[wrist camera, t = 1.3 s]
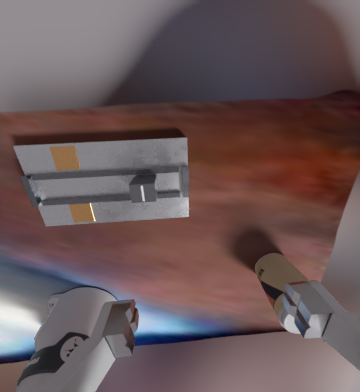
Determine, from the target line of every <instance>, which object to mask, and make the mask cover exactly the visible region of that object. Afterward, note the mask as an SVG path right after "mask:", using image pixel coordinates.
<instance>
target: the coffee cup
mask: <svg viewBox="0 0 360 392" xmlns="http://www.w3.org/2000/svg"><path fill="white" fill-rule="evenodd" d="M255 272H256V274H257V277H258V279H259V281H260V283H261V285H262V287H263V289H264V291H265V293H266V295H267V297H268V299H269V301H270V303H271V305H272V307H273V309H274V311H275V313H276V314H277V316H278V320H279V322H280V324H281V325H282V326H283V327H284V328H285V329H286V330H288V331H289V332H292V333H296V334H301V333H300V332H299V330H298V328H297V327H296V325H295V323H294V319H295V318H294V317H293V316H291V315H290V314H289V313H288V312H287V310H286V308H285V306H284V304H283V299H282V297H283V293H284V292H285V291H286V290H285V289H284V286H285V284H286V283H292V282H300V281H309V280H308V279H307V278H306V277H305V276H304V275H303V274H302V273H301V272H300V271H299V270H298V269H297V268H296V267H295V266H294V265H293V264H292V263H290V262H289V261H288V260H287V259H286V258H285V257H284V256H283V255H281V254H279V253H270V254H267V255H264V256H263V257H261V258H260V259H259V260H258V261H257V262H256V264H255Z"/></svg>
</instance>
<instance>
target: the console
mask: <svg viewBox="0 0 360 392" xmlns="http://www.w3.org/2000/svg"><path fill="white" fill-rule="evenodd" d="M13 147H14V150H15V152H16V155H17V157H18V159H19V162H20V164H21V167H22V169H23V172H24V174H25V175H22V176H20V179H21V181H22V183H23V186H24V188H25V190H26V193H27V195H28V197H29V200H30V202H31V204H32V207H38V208H39V210H40V213H41V215H42V218H43V220H44V223H45V225H46V226H57V225H72V224H87V223H102V222H117V221H132V220H147V219H162V218H177V217H189V198H188V197H189V173H188V157H187V137H173V138H152V139H132V140H111V141H90V142H69V143H48V144H27V145H17V146H13ZM150 175H157V184H158V195H157V201H156V202H142V203H132V202H131V196H130V190H129V184H130V182H131V181H132V179H133V178H134V177H135V176H150Z"/></svg>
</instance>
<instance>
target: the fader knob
mask: <svg viewBox="0 0 360 392" xmlns="http://www.w3.org/2000/svg"><path fill="white" fill-rule="evenodd" d="M129 190H130V196H131V202H132V203H142V202H156V201H157V195H158V184H157V175H150V176H135V177H134V178H133V179H132V181H131V182H130V184H129Z"/></svg>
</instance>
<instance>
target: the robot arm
mask: <svg viewBox="0 0 360 392" xmlns="http://www.w3.org/2000/svg"><path fill="white" fill-rule="evenodd" d="M284 289H285V290H286V291H285V292H284V293H283V297H282V299H283V304H284V306H285V308H286V310H287V312H288V313H289V314H290V315H291V316H293V317H294V318H295V319H294V323H295V325H296V327H297V328H298V330H299V332H300V333H301V335H302V336H303V338H318V337H322V339H323V340H324V341H326V342H327V343H328V344H329V345H330V346H332V347H333V348H334V349H335V350H336V351H337V352H339V353H340V354H341V355H342V356H343V357H344V358H346V359H347V360H348V361H349V362H350V363H352V364H353V365H354V366H355V367H356V368H357V369H359V370H360V317H358V316H356V315H355V314H353V313H351V312H346V311H345V310H344V309H343V307H341V305H340V304H339V303H338V302H337V301H336V300H335V299H334V298H333V297H332V296H331V295H330V293H329V292H328V291H327V290H326V289H325V288H324V287H323V286H322V285H321V284H320V283H319V282H318V281H316V280H311V281H300V282H292V283H286V284H285V286H284ZM138 319H139V315H138V310H137V308H135V301H134V299H133V300H122V301H117V300H116V299H115V298H114V297H113V296H112V295H111V294H109V293H107V292H105V291H103V290H100V289H96V288H90V287H82V288H76V289H72V290H70V291H68V292H66V293H63V294H56V295H52V296H50V298H49V300H48V316H47V317H46V319H45V321H44V322H43V324H42V326H41V327H40V329H39V331H38V332H37V334H36V336H35V338H34V339H35V346H36V353H35V354H34V355H33V356H32V358H31V359H30V361H29V363H28V364H27V365H26V367H25V369H24V370H23V373H22V375H21V377H20V378H19V380H18V383H17V385H18V387H17V389H16V391H15V392H95V391H96V389H97V388H98V386H99V384H100V383H101V381H102V380H103V378H104V376H105V375H106V373H107V372H108V370H109V369H110V367H111V365H112V364H113V362H114V360H115V358H118V357H126V356H132V355H133V349H134V344H135V337H134V333H135V332H136V330H137V328H138Z"/></svg>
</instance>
